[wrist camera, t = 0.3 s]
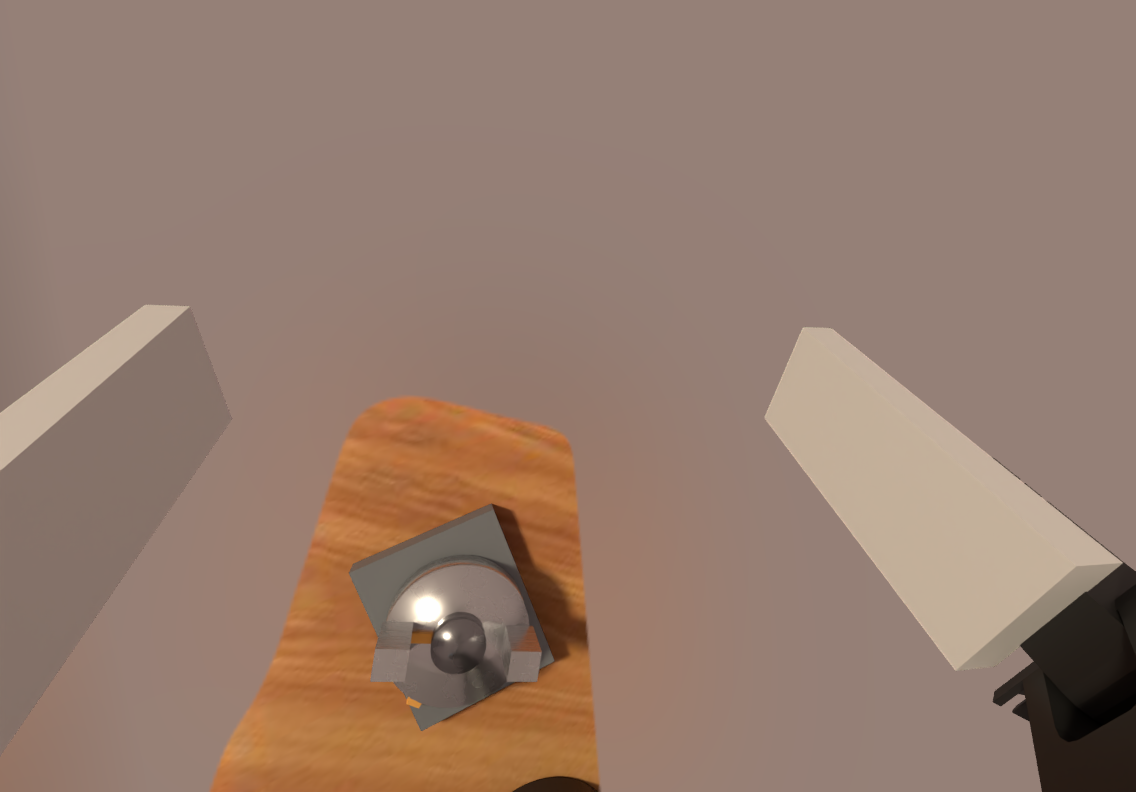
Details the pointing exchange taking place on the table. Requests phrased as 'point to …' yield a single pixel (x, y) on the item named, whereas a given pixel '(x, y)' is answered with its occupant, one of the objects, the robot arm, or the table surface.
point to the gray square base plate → (396, 564)
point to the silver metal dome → (456, 634)
